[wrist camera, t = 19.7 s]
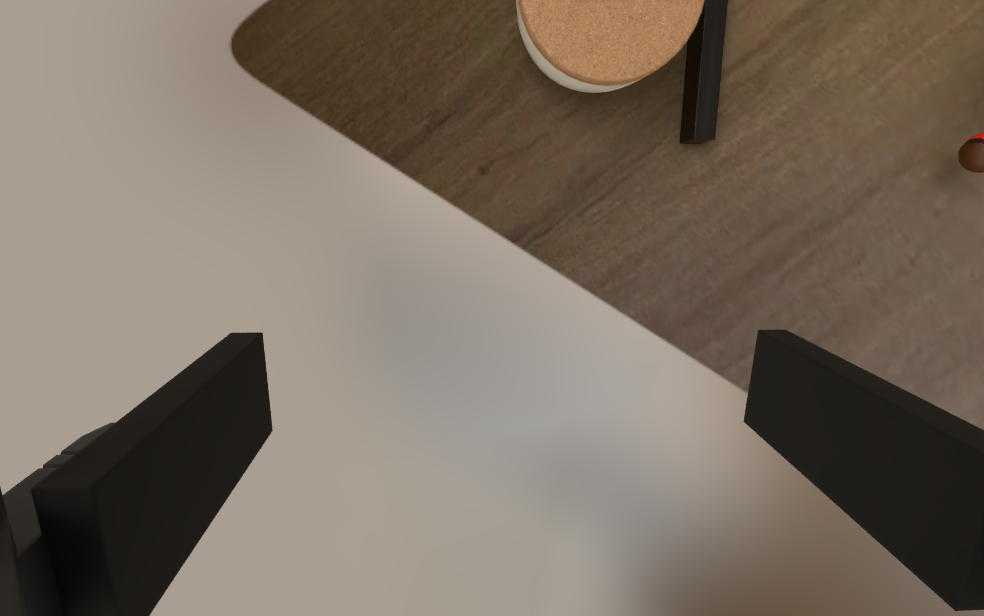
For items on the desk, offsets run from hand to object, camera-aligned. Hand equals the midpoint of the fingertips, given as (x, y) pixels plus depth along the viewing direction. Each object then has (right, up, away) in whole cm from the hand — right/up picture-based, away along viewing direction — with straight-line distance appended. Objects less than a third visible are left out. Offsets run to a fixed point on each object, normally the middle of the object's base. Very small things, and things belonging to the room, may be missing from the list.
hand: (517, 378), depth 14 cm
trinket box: (+6, +21, +23) cm, 32 cm away
